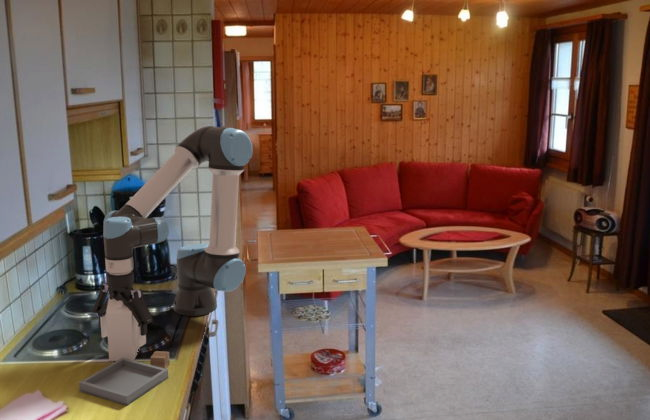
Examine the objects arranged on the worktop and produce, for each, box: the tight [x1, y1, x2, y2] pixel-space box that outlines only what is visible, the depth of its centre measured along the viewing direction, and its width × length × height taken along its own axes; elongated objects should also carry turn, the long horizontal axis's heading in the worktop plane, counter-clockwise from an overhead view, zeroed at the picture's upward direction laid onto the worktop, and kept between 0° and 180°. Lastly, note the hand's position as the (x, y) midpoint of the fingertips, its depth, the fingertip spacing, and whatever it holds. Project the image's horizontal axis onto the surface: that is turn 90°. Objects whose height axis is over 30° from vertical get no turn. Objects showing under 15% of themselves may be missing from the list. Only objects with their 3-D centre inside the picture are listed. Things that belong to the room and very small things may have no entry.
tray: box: [78, 358, 169, 406], centre depth 162 cm, size 16×16×2 cm
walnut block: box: [150, 350, 171, 369], centre depth 172 cm, size 4×4×4 cm
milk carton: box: [105, 294, 140, 362], centre depth 177 cm, size 7×7×19 cm
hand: (123, 340), depth 178 cm, fingers open, 13 cm apart
